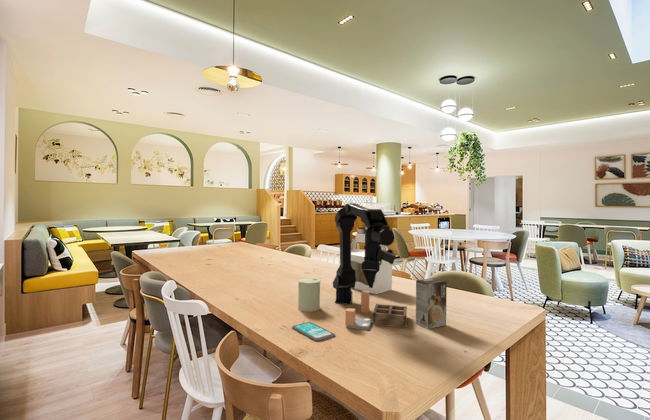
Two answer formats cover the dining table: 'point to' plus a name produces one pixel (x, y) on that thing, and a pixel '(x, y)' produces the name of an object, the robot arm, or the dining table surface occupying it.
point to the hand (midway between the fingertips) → (372, 284)
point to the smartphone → (313, 331)
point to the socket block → (390, 315)
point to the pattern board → (356, 320)
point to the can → (309, 294)
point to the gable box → (382, 276)
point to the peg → (365, 301)
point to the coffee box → (431, 303)
